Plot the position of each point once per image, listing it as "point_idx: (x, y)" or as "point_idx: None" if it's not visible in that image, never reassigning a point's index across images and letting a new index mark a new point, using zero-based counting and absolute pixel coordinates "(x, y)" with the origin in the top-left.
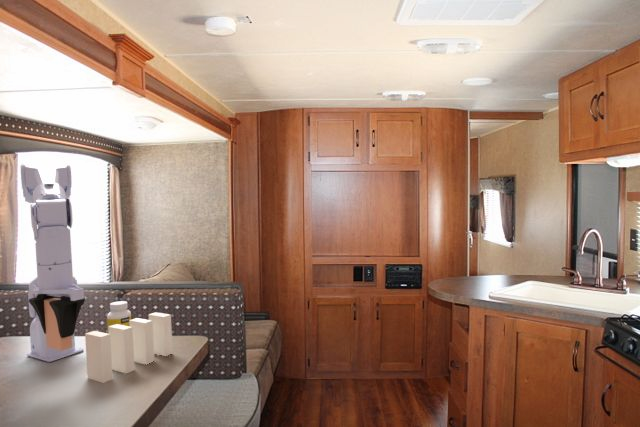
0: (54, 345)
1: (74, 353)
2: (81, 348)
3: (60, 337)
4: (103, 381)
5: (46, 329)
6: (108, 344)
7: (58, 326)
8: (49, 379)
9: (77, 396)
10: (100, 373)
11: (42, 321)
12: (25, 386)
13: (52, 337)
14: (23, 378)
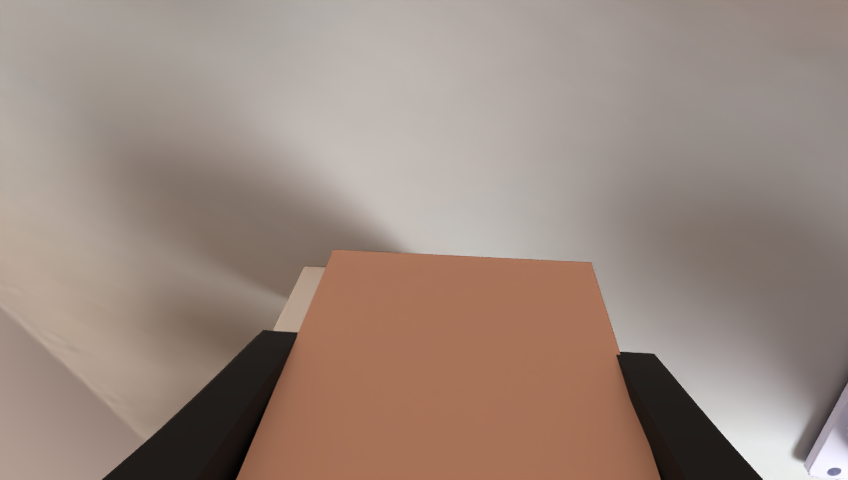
0: (443, 273)
1: (821, 432)
2: (827, 476)
3: (300, 331)
4: (302, 272)
5: (614, 394)
6: None
7: (221, 423)
8: (641, 183)
9: (251, 115)
10: (309, 295)
11: (683, 478)
12: (702, 56)
13: (471, 326)
14: (844, 123)
